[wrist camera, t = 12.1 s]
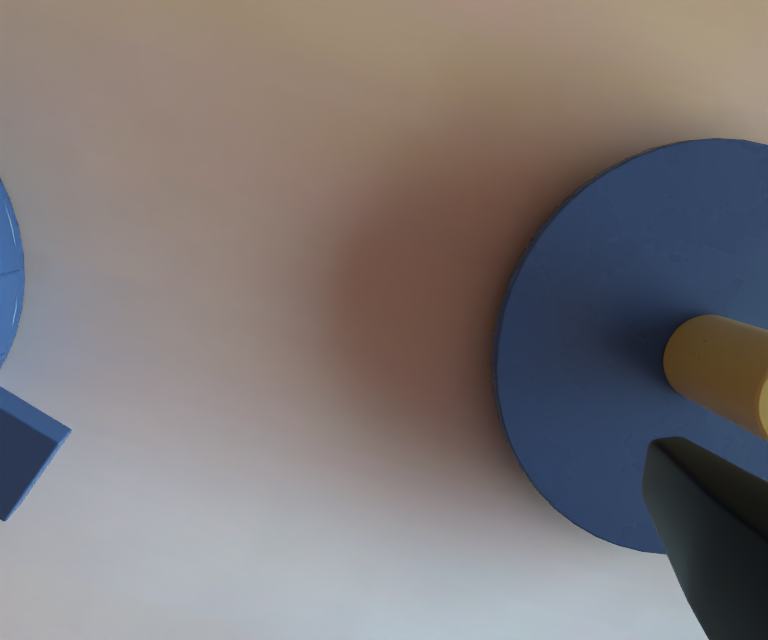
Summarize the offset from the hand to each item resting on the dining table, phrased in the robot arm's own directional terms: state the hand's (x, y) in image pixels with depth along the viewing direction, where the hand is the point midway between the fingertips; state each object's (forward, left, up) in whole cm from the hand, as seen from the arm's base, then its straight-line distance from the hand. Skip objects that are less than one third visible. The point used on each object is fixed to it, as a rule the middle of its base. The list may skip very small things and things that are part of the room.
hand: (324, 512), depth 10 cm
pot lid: (-6, -10, -11) cm, 16 cm away
